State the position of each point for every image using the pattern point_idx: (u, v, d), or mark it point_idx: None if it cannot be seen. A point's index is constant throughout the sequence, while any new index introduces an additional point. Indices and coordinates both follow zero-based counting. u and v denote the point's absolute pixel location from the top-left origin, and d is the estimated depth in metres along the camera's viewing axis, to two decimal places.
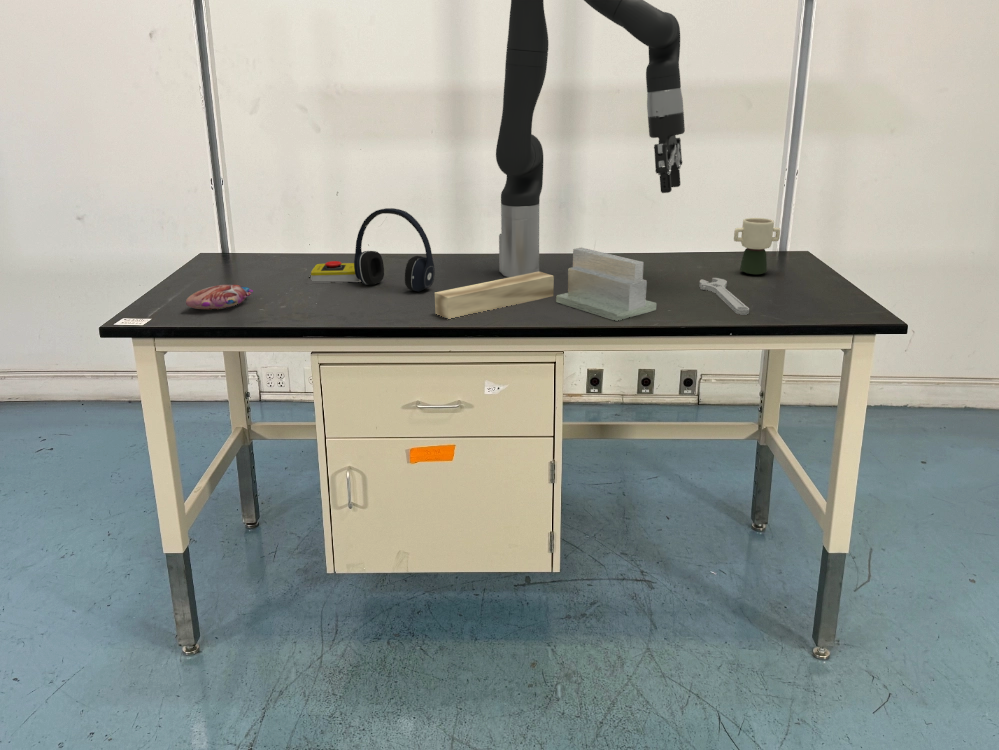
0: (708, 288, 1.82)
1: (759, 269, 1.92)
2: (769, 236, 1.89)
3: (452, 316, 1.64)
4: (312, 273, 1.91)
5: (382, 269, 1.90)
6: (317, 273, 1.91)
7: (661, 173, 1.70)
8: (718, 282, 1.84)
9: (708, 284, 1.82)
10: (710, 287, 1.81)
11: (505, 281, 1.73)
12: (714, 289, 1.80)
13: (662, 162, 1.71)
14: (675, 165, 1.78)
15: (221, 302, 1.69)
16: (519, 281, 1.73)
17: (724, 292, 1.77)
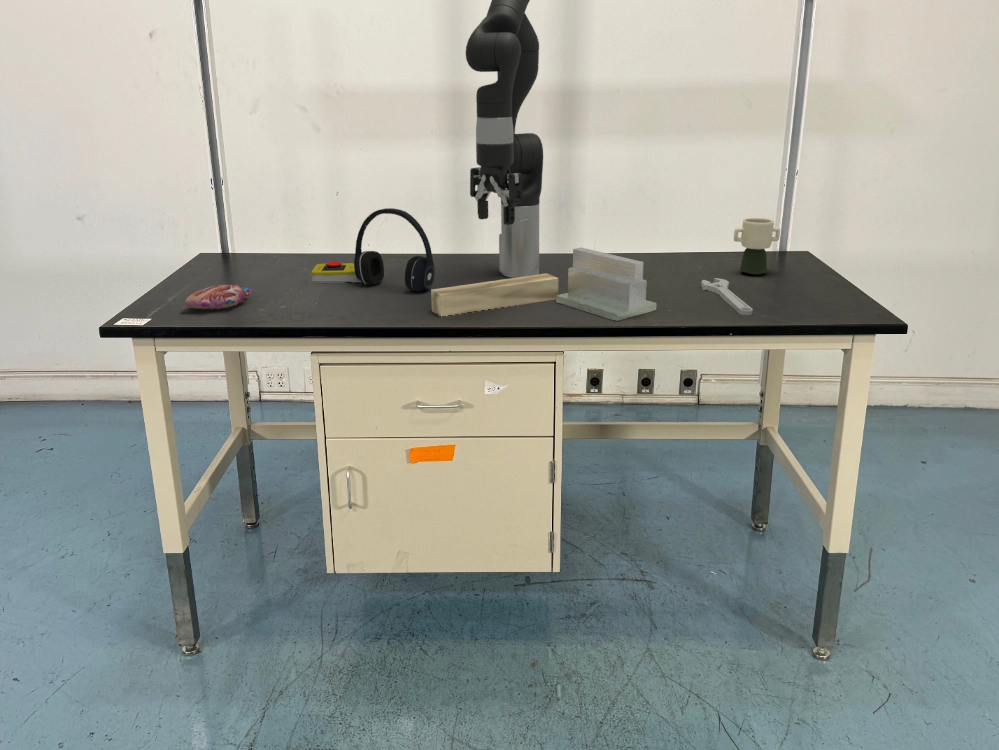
0: (710, 288, 1.81)
1: (759, 269, 1.92)
2: (769, 236, 1.89)
3: (445, 314, 1.65)
4: (313, 273, 1.91)
5: (382, 269, 1.90)
6: (318, 273, 1.91)
7: None
8: (720, 282, 1.83)
9: (710, 284, 1.82)
10: (712, 287, 1.81)
11: (506, 281, 1.73)
12: (716, 289, 1.79)
13: None
14: None
15: (221, 302, 1.69)
16: (520, 282, 1.72)
17: (727, 293, 1.76)
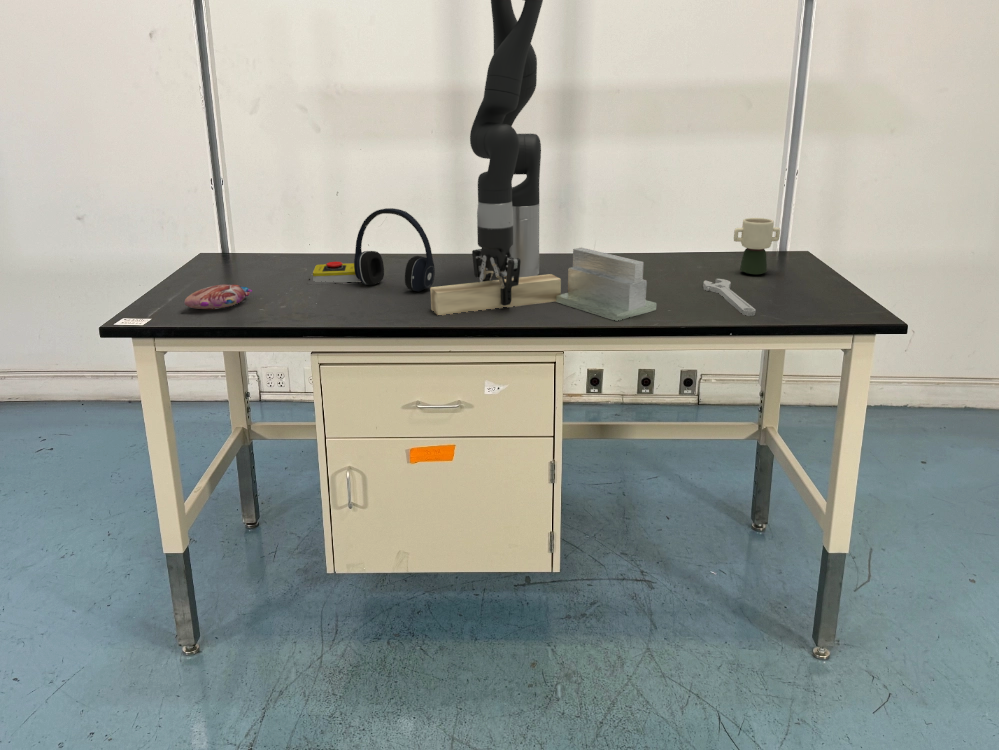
0: (712, 289, 1.81)
1: (759, 269, 1.92)
2: (769, 236, 1.89)
3: (442, 312, 1.66)
4: (314, 274, 1.90)
5: (382, 269, 1.90)
6: (319, 274, 1.90)
7: None
8: (722, 283, 1.83)
9: (712, 285, 1.81)
10: (714, 288, 1.80)
11: None
12: (718, 290, 1.79)
13: None
14: None
15: (220, 302, 1.69)
16: (521, 282, 1.72)
17: (729, 293, 1.76)
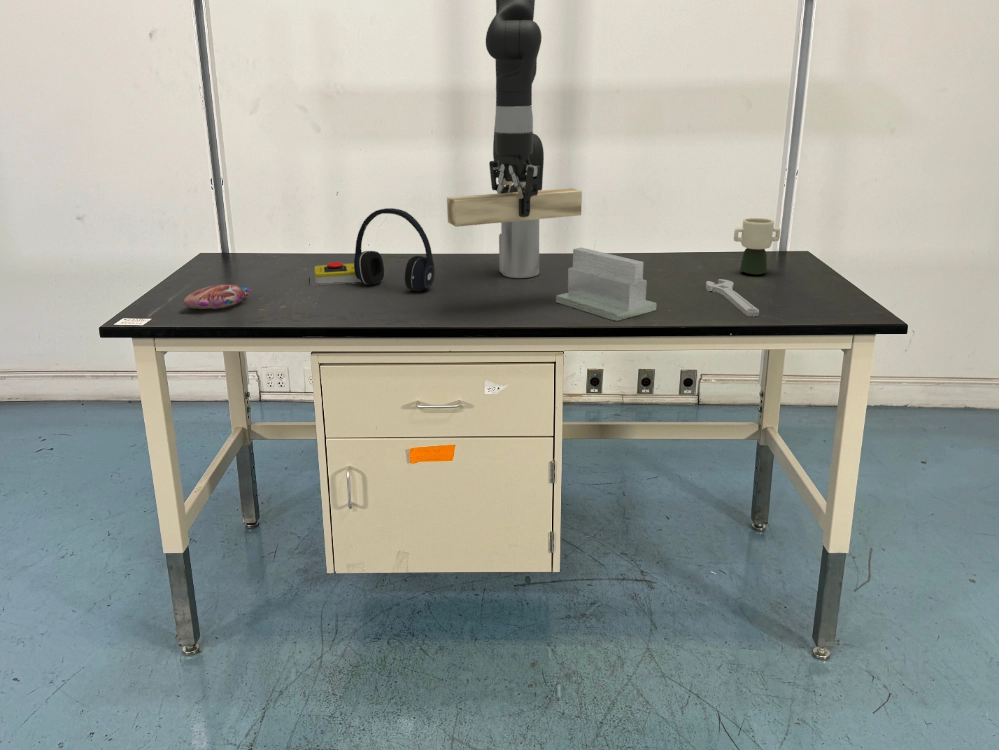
0: (715, 290, 1.80)
1: (759, 269, 1.92)
2: (769, 236, 1.89)
3: (460, 221, 1.59)
4: (317, 275, 1.89)
5: (382, 269, 1.90)
6: (322, 275, 1.89)
7: None
8: (725, 283, 1.82)
9: (715, 286, 1.81)
10: (717, 289, 1.80)
11: None
12: (721, 291, 1.79)
13: None
14: None
15: (219, 302, 1.70)
16: (541, 193, 1.65)
17: (732, 294, 1.75)
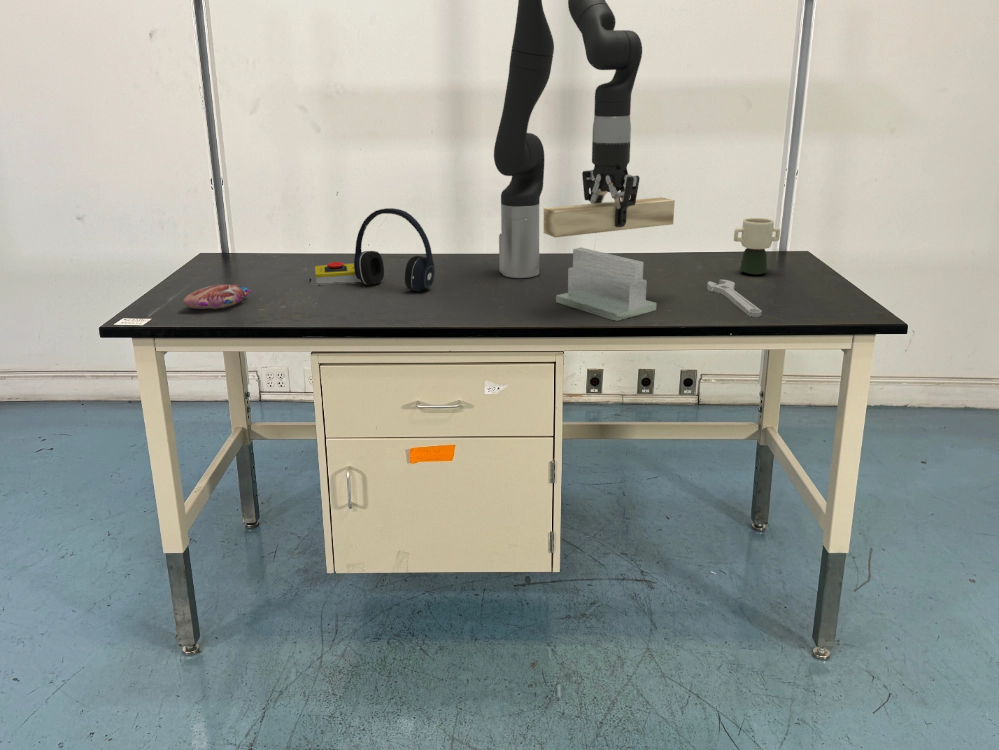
0: (717, 290, 1.80)
1: (759, 269, 1.92)
2: (769, 236, 1.89)
3: (559, 232, 1.58)
4: (317, 275, 1.89)
5: (382, 269, 1.90)
6: (322, 275, 1.89)
7: None
8: (726, 284, 1.82)
9: (716, 286, 1.81)
10: (719, 289, 1.79)
11: None
12: (723, 291, 1.78)
13: None
14: None
15: (219, 302, 1.70)
16: (635, 203, 1.64)
17: (734, 294, 1.75)
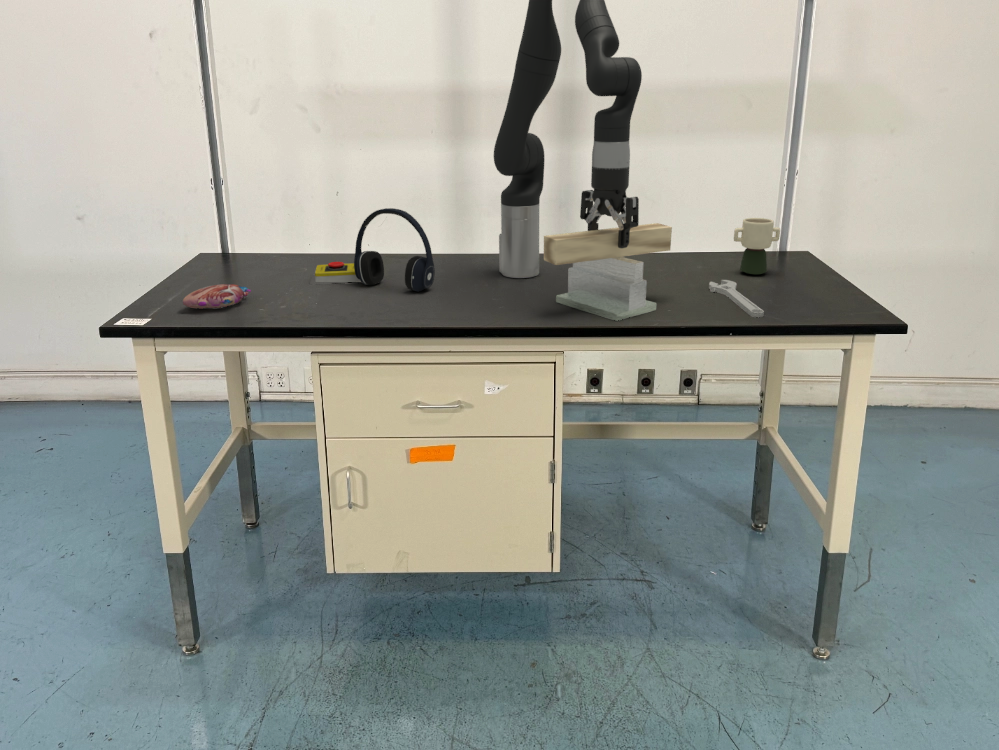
0: (718, 290, 1.80)
1: (759, 269, 1.92)
2: (769, 236, 1.89)
3: (559, 260, 1.60)
4: (316, 274, 1.90)
5: (382, 269, 1.90)
6: (321, 274, 1.90)
7: None
8: (728, 284, 1.82)
9: (718, 286, 1.80)
10: (720, 289, 1.79)
11: (619, 229, 1.67)
12: (725, 291, 1.78)
13: None
14: None
15: (218, 302, 1.70)
16: (634, 230, 1.66)
17: (736, 294, 1.75)
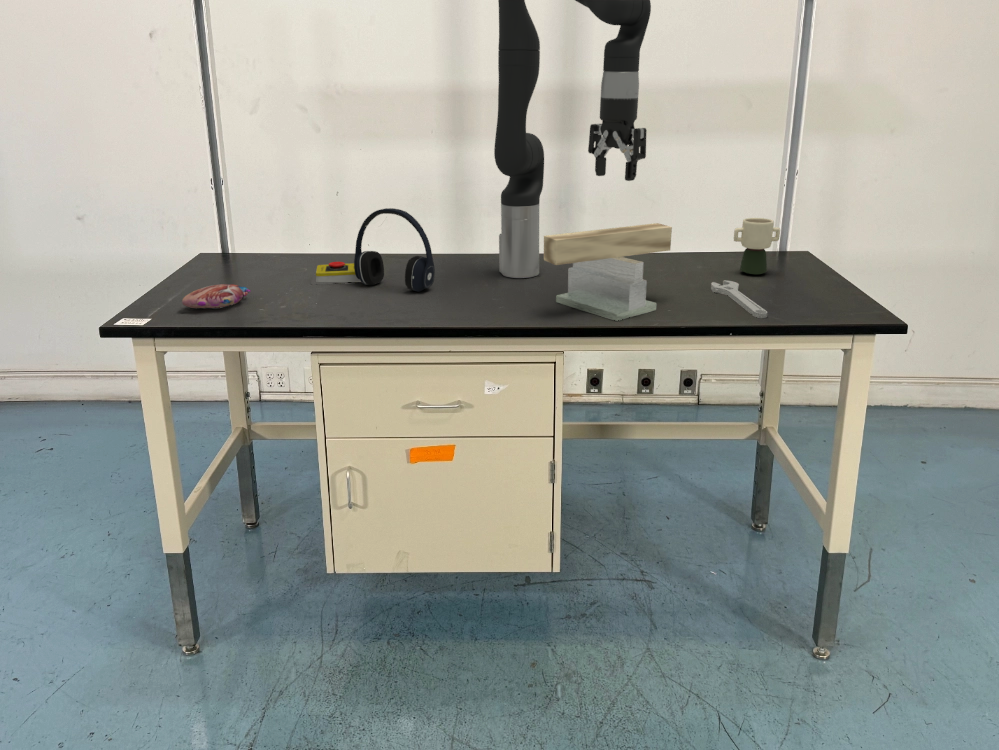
0: (721, 291, 1.79)
1: (759, 269, 1.92)
2: (769, 236, 1.89)
3: (559, 260, 1.60)
4: (317, 274, 1.90)
5: (382, 269, 1.90)
6: (322, 274, 1.90)
7: None
8: (730, 285, 1.81)
9: (720, 287, 1.80)
10: (723, 290, 1.79)
11: (619, 229, 1.67)
12: (727, 292, 1.78)
13: None
14: None
15: (217, 302, 1.70)
16: (634, 230, 1.66)
17: (738, 295, 1.74)
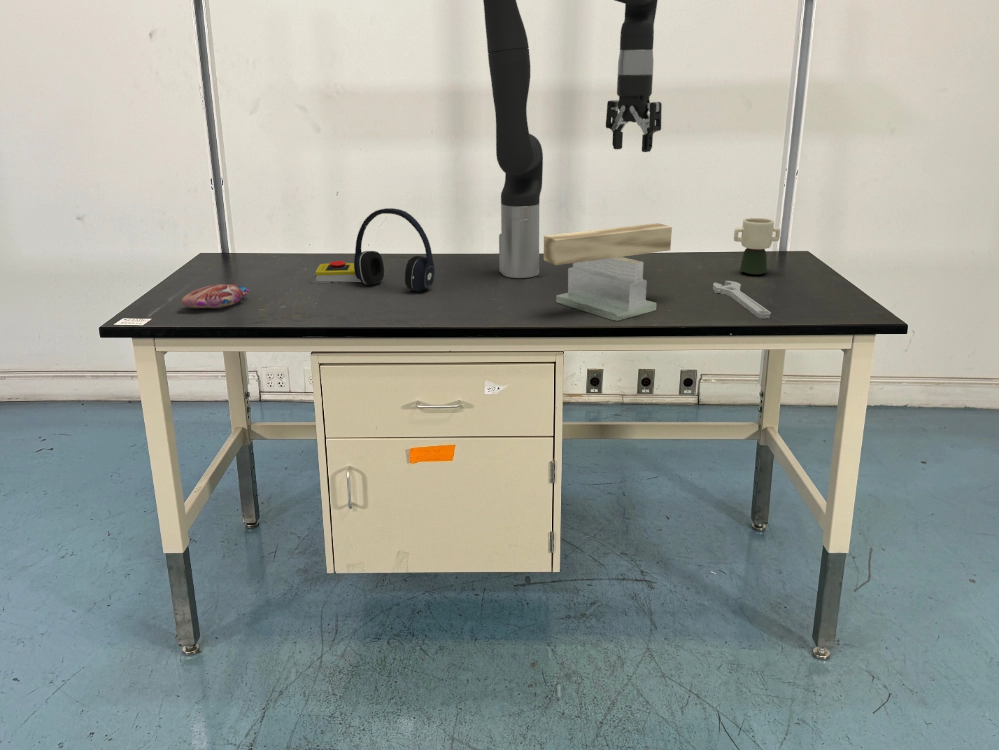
0: (723, 291, 1.79)
1: (759, 269, 1.92)
2: (769, 236, 1.89)
3: (559, 260, 1.60)
4: (317, 273, 1.91)
5: (382, 269, 1.90)
6: (322, 273, 1.91)
7: None
8: (732, 285, 1.81)
9: (723, 287, 1.80)
10: (725, 290, 1.78)
11: (619, 229, 1.67)
12: (729, 292, 1.77)
13: None
14: None
15: (216, 302, 1.70)
16: (634, 230, 1.66)
17: (741, 295, 1.74)
